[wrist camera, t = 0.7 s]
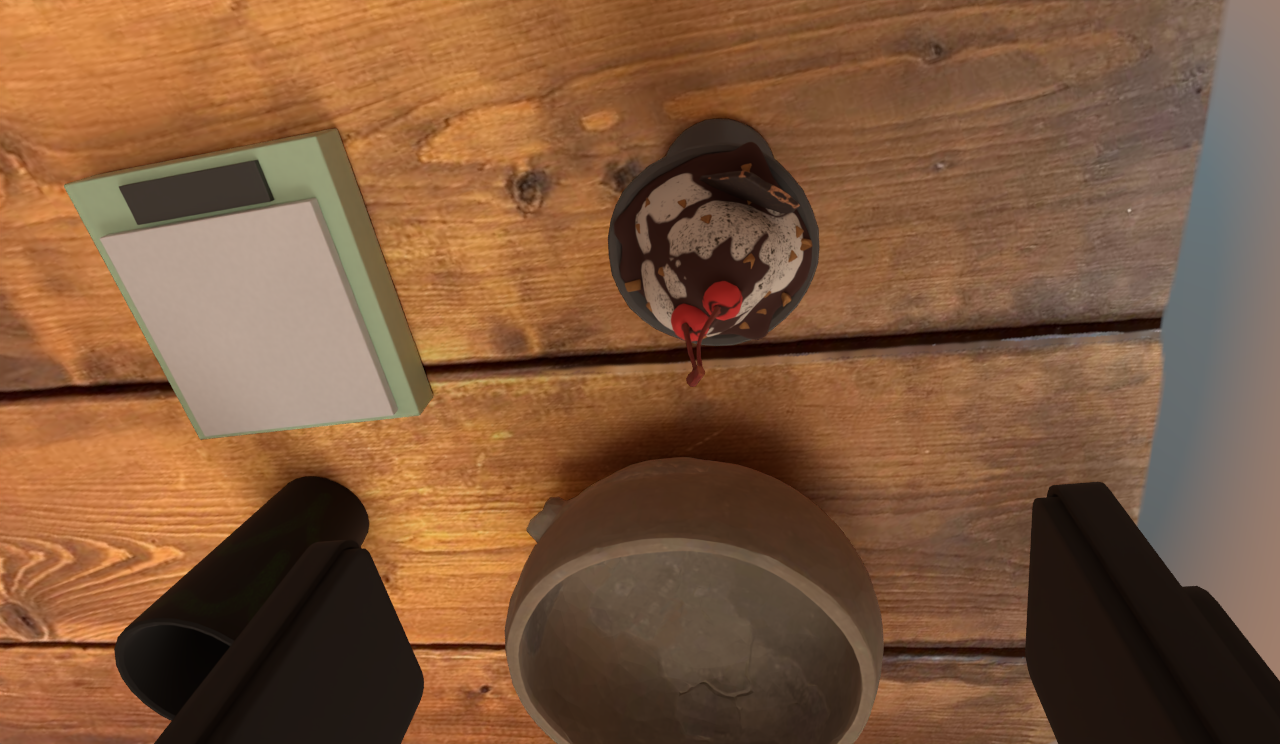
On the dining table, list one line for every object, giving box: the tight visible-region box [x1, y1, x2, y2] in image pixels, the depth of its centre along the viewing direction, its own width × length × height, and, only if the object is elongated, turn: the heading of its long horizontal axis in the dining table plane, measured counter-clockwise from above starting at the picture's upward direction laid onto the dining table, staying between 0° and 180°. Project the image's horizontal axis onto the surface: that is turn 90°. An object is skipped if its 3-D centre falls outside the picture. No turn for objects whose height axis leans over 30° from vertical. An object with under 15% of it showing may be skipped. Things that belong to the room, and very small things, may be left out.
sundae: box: [608, 119, 819, 387], centre depth 26 cm, size 7×7×15 cm
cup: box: [114, 477, 369, 721], centre depth 39 cm, size 8×8×12 cm
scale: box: [64, 128, 433, 440], centre depth 36 cm, size 14×13×3 cm
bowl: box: [505, 457, 884, 744], centre depth 37 cm, size 17×18×10 cm
